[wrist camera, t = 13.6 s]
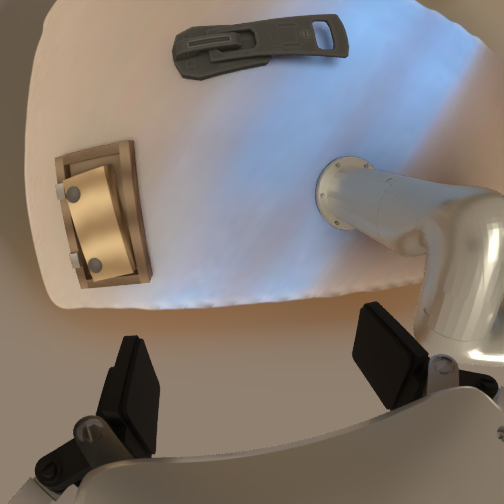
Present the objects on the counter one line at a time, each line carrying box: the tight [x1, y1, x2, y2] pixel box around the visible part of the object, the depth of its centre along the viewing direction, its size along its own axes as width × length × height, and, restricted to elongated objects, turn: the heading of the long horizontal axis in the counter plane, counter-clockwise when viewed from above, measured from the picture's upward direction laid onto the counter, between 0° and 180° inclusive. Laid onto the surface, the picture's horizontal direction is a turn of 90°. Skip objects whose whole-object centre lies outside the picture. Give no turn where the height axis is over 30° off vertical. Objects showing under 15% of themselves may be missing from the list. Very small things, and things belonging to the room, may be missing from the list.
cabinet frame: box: [55, 141, 153, 289], centre depth 37 cm, size 22×12×4 cm, turn 3°
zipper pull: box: [172, 14, 349, 81], centre depth 31 cm, size 9×7×25 cm
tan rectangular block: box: [63, 164, 137, 282], centre depth 37 cm, size 16×7×4 cm, turn 10°
